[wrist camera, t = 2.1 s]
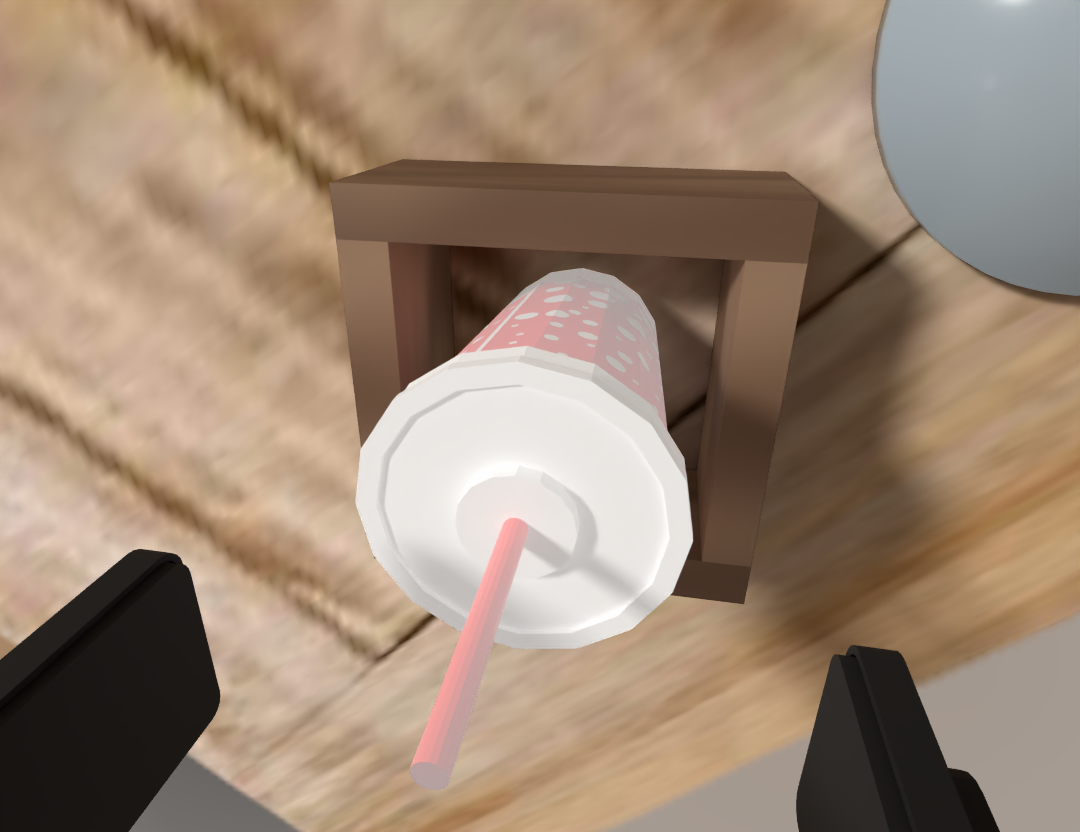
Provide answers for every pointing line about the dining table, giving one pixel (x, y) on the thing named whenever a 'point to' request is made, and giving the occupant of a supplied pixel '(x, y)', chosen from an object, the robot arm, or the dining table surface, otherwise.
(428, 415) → the beverage cup
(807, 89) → the dining table surface
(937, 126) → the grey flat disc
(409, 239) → the square wooden frame
